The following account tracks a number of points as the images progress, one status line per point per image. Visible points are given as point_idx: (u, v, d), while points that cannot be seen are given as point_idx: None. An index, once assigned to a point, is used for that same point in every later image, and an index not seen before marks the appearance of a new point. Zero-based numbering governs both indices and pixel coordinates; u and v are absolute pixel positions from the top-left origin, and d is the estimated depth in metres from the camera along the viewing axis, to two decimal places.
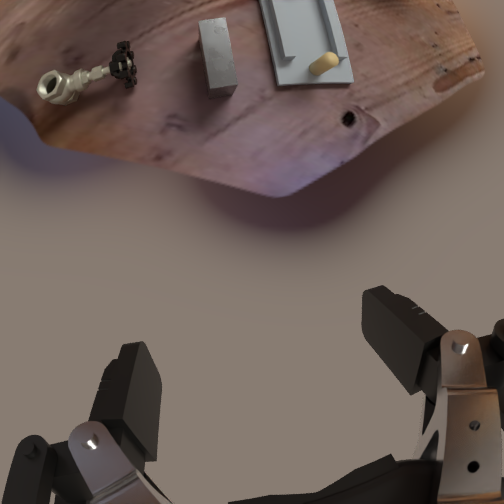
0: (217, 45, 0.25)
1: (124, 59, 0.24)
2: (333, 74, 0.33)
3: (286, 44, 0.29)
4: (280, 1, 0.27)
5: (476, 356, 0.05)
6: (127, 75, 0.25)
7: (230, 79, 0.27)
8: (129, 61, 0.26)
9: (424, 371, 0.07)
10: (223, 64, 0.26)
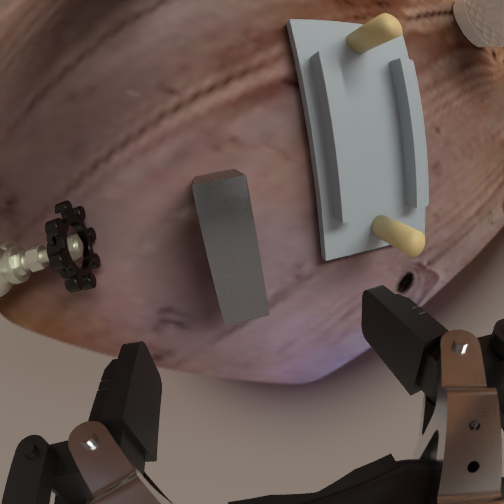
0: (232, 244, 0.17)
1: (64, 267, 0.15)
2: None
3: (347, 199, 0.20)
4: (342, 102, 0.18)
5: (476, 356, 0.05)
6: (79, 289, 0.16)
7: (257, 308, 0.18)
8: (76, 245, 0.17)
9: (424, 371, 0.07)
10: (245, 283, 0.18)
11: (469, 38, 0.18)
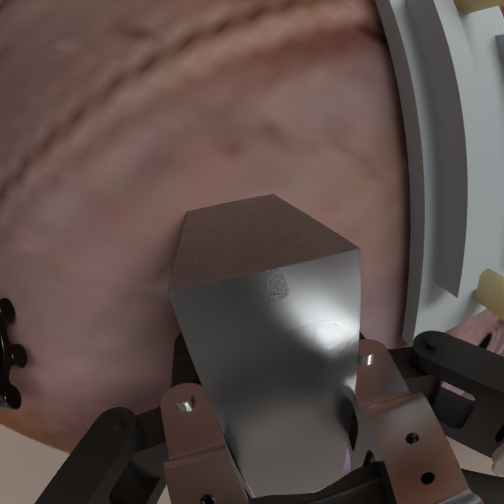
0: (293, 420, 0.06)
1: None
2: None
3: (470, 257, 0.09)
4: (472, 80, 0.07)
5: (378, 369, 0.06)
6: None
7: (323, 481, 0.07)
8: None
9: None
10: (309, 464, 0.06)
11: None
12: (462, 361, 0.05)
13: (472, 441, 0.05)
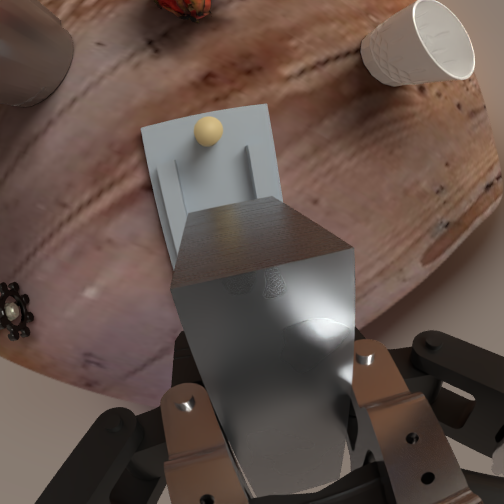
0: (291, 416, 0.06)
1: None
2: None
3: None
4: (179, 209, 0.23)
5: (378, 369, 0.06)
6: (16, 339, 0.21)
7: (321, 478, 0.07)
8: (12, 311, 0.22)
9: None
10: (307, 460, 0.07)
11: (379, 79, 0.24)
12: (462, 361, 0.05)
13: (472, 441, 0.05)
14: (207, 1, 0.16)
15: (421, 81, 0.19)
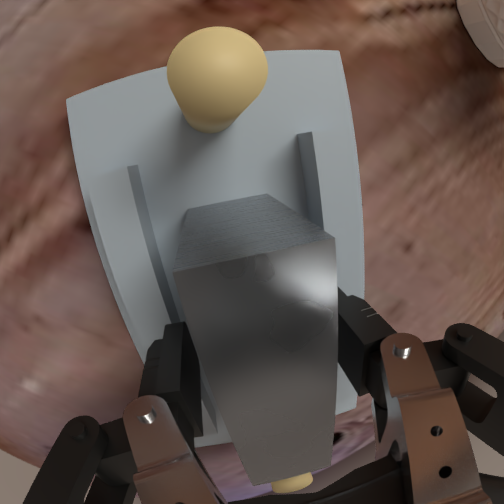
0: (281, 396, 0.06)
1: None
2: None
3: None
4: (147, 286, 0.10)
5: (417, 361, 0.06)
6: None
7: (313, 464, 0.08)
8: None
9: (368, 373, 0.07)
10: (298, 444, 0.07)
11: (485, 52, 0.10)
12: (488, 354, 0.05)
13: (490, 437, 0.04)
14: None
15: None
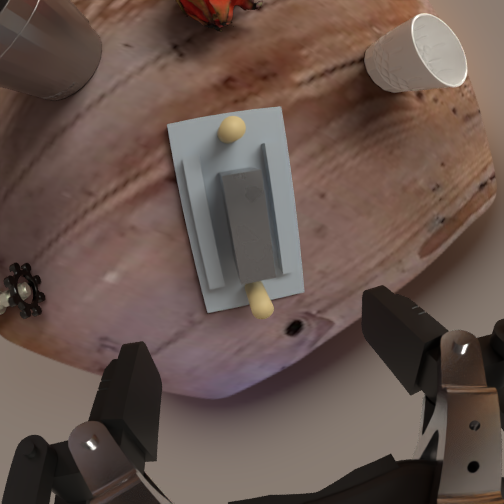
0: (249, 220, 0.23)
1: (16, 305, 0.22)
2: (277, 289, 0.32)
3: (211, 272, 0.28)
4: (202, 198, 0.26)
5: (476, 356, 0.05)
6: (28, 316, 0.23)
7: (267, 271, 0.24)
8: (25, 289, 0.24)
9: (424, 371, 0.07)
10: (258, 251, 0.23)
11: (380, 86, 0.27)
12: None
13: None
14: (230, 12, 0.19)
15: (418, 88, 0.22)
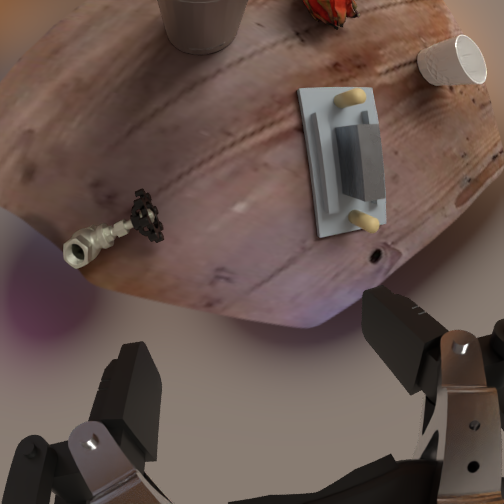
0: (372, 155, 0.30)
1: (149, 224, 0.29)
2: None
3: (331, 199, 0.36)
4: (329, 143, 0.33)
5: (476, 356, 0.05)
6: (157, 238, 0.31)
7: (380, 193, 0.32)
8: (151, 214, 0.32)
9: (424, 371, 0.07)
10: (376, 177, 0.31)
11: (428, 80, 0.34)
12: None
13: None
14: None
15: (455, 83, 0.30)
